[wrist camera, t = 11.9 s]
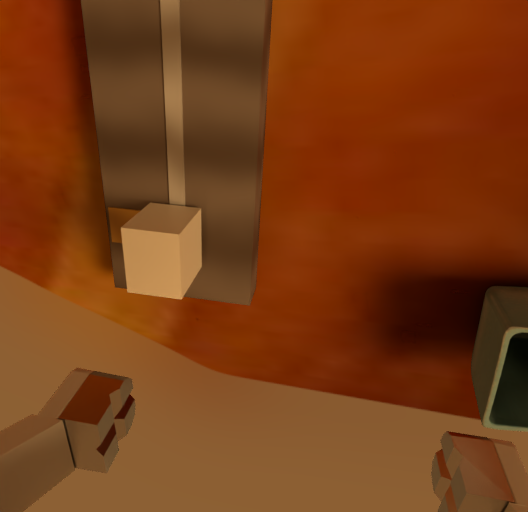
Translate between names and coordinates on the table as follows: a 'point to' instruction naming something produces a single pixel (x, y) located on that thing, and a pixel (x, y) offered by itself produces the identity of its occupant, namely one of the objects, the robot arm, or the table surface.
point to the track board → (184, 124)
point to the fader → (162, 250)
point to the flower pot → (502, 359)
